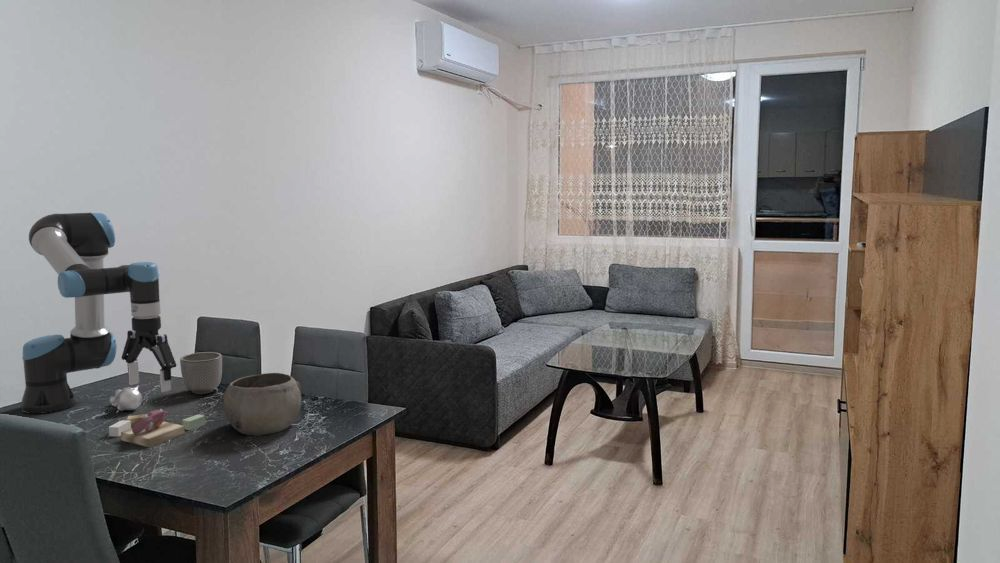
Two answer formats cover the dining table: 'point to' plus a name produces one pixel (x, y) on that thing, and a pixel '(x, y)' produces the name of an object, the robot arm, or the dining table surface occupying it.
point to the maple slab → (154, 434)
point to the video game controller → (150, 421)
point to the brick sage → (193, 422)
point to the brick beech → (135, 419)
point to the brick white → (119, 428)
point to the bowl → (262, 403)
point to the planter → (201, 371)
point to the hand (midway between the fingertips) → (149, 387)
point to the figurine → (126, 399)
